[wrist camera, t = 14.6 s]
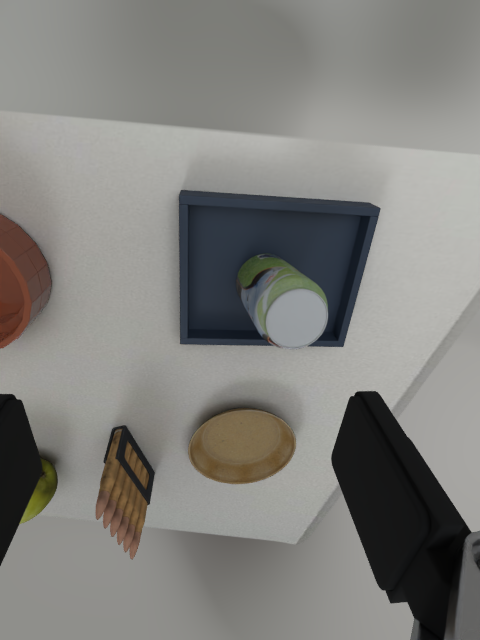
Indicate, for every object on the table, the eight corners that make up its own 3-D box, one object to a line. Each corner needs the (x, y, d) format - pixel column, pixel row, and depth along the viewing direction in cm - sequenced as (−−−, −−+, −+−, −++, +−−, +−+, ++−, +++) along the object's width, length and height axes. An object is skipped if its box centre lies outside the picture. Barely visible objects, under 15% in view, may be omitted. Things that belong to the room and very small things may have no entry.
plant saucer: (219, 481, 54) (220, 496, 51) (168, 423, 47) (166, 438, 44) (306, 446, 51) (311, 461, 49) (266, 380, 44) (269, 393, 42)
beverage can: (226, 293, 37) (235, 359, 27) (252, 230, 34) (273, 276, 24) (278, 310, 39) (306, 378, 28) (308, 251, 36) (351, 303, 25)
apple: (-14, 463, 47) (-51, 521, 40) (33, 433, 45) (2, 489, 38) (33, 490, 51) (6, 547, 44) (78, 463, 49) (57, 519, 42)
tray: (180, 190, 32) (178, 194, 30) (369, 202, 34) (381, 208, 32) (181, 331, 40) (180, 344, 37) (335, 335, 42) (343, 346, 40)
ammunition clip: (155, 473, 51) (142, 561, 41) (143, 476, 51) (127, 564, 41) (125, 424, 46) (101, 512, 36) (112, 428, 46) (84, 516, 36)
